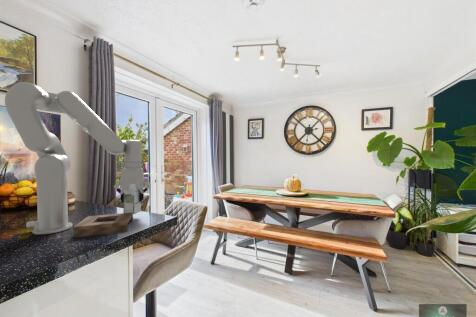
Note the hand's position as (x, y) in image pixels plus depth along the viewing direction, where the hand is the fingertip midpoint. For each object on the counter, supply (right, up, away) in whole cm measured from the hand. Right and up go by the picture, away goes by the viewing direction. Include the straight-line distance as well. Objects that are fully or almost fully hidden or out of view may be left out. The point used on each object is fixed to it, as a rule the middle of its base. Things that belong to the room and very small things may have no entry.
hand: (132, 201), depth 103 cm
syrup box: (0, -6, 0) cm, 6 cm away
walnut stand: (-4, -9, -14) cm, 17 cm away
